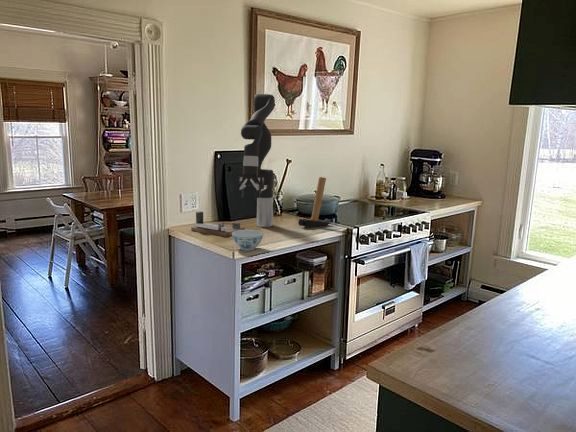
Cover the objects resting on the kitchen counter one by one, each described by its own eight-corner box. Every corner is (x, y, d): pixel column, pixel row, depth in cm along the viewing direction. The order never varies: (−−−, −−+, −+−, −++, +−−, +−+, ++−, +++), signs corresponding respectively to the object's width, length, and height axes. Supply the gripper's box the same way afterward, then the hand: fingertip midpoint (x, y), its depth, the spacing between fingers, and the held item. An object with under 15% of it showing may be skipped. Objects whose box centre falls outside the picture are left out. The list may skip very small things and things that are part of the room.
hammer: (324, 228, 277) (333, 179, 275) (329, 229, 273) (338, 180, 271) (297, 225, 266) (307, 174, 264) (302, 226, 262) (312, 175, 259)
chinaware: (243, 243, 227) (243, 228, 226) (269, 247, 220) (269, 232, 219) (225, 249, 214) (225, 233, 213) (252, 254, 207) (252, 238, 206)
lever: (226, 229, 244) (226, 215, 242) (221, 231, 241) (221, 216, 239) (199, 225, 253) (199, 211, 252) (194, 226, 250) (194, 212, 248)
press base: (211, 225, 265) (211, 217, 265) (244, 231, 254) (244, 222, 253) (191, 230, 251) (191, 221, 250) (225, 236, 239) (225, 227, 238)
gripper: (266, 166, 230) (265, 198, 231) (240, 165, 234) (239, 197, 235) (261, 165, 222) (260, 198, 224) (234, 164, 227) (233, 197, 228)
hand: (249, 197), depth 229 cm, fingers open, 8 cm apart
